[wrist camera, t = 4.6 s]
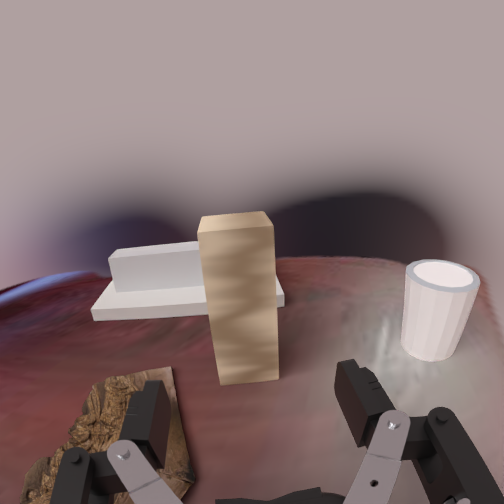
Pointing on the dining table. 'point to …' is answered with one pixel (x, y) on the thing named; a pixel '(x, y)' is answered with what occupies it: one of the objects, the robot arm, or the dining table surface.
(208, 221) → the maple block
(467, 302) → the white cylinder
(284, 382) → the dining table surface
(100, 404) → the wooden fragment
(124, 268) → the ridge stand
